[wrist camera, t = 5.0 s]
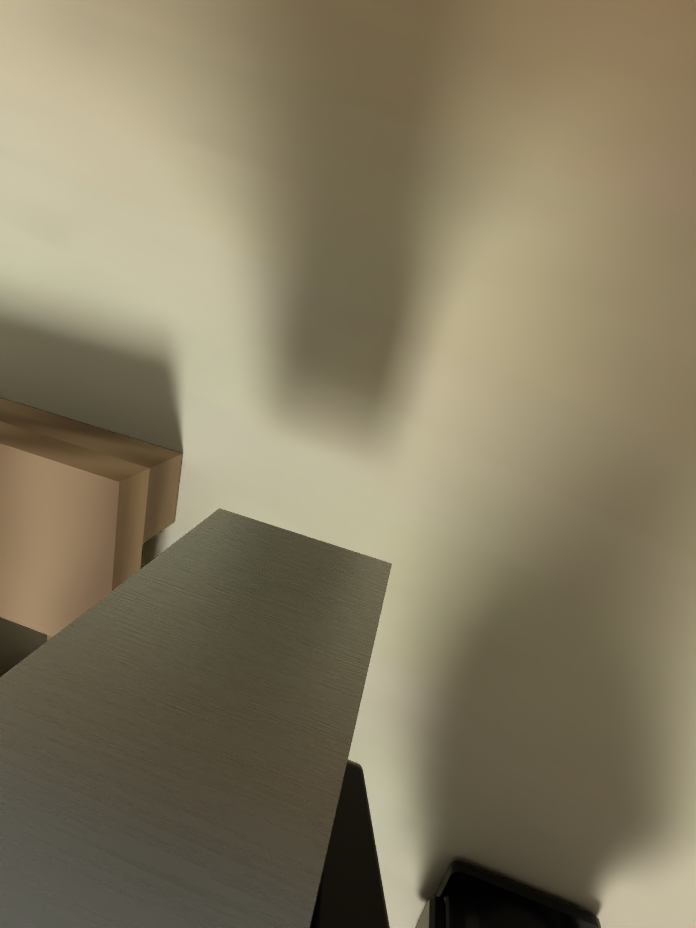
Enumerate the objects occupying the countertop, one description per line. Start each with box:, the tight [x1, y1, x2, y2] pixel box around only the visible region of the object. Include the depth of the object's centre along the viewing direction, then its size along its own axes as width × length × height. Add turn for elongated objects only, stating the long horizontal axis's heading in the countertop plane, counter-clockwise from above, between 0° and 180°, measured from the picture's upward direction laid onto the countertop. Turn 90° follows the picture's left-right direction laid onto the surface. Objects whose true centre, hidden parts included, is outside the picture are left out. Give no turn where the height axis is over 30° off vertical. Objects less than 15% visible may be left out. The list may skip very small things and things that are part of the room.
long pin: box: [0, 508, 392, 928], centre depth 7 cm, size 4×4×9 cm
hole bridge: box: [0, 398, 182, 641], centre depth 19 cm, size 11×20×4 cm, turn 166°
